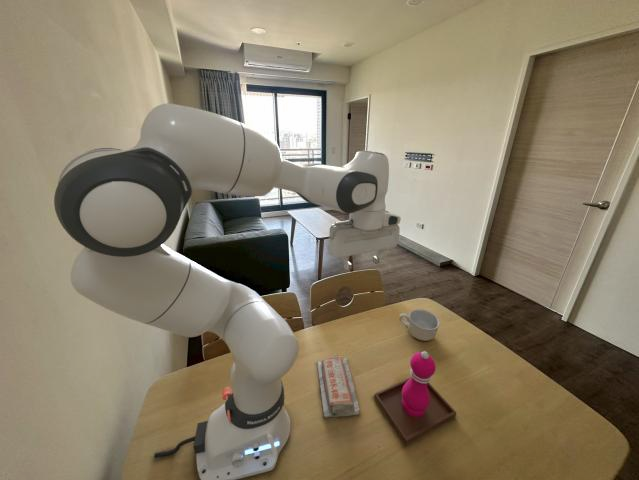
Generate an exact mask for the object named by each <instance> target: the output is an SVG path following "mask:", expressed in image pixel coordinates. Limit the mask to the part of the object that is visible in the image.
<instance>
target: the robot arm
mask: <svg viewBox="0 0 639 480" xmlns="http://www.w3.org/2000/svg"><path fill="white" fill-rule="evenodd" d="M389 163H390V162H389V158H388V156H387V155H386V154H384V153H382V152H378V151H372V150H358V151H357V152H356V153H355V156H354V157H353V159H351V160H350V161H349V162H348V163H346V164H344V165H342V166H334V165H327V164H324V163H319V162H313V163H309V164H303V165H302V164H298V163H295V162H293V161H290V160H287V159H284V158H282V152H281V150H280V147H279V145H278V143H277V142H276V140H275V139H274V138H272V137H270V136H269V135H267V134H266V133H264V132H262V131H260V130H259V129H257V128H255V127H253V126H251V125H248V124H246V123H243V122H241V121H238V120H236V119H233V118H230V117H228V116H226V115H222V114H218V113H215V112H213V111H210V110H209V111H208V110H205V109H201V108H196V107H192V106H187V105H181V104H176V103H169V102H168V103H167V102H166V103H162V104H158V105H156V106H155V107H153V108H151V110H150V111H149V112H148V113H147V115H146V116H145V118H144V120H143V122H142V124H141V128H140V135H139V140H138V141H137V143H136V144H135V145H134V146H133V147H130V148H128V149H119V148H114V147H102V148H101V147H100V148H94V149H90V150H88V151H86V152H83V153H81V154H79V155H77V156H75V158H73V159H71V160H70V161H69V162H68V163H67V164H66V165H65V166H64V168H63V169H62V171H61V173H60V175H59V177H58V181H57V186H56V188H55V192H54V197H53V205H54V212H55V214H56V217H57V219H58V221H59V223H60V225H61V226H62V228H63V229H64V231H65V232H66V233H67V234H68V235H69V236H70V237H71V238H72V239H73V240H74V241H75V242H77V243H78V244H80V245H81V246H83V248H82V250H81V251H80V252H79V254H78V255H77V256H76V258H75V259H74V261H73V264H72V266H71V270H70V282H71V286H72V288H73V289H74V290H75V292H77V293H78V294H79V295H81V296H82V297H84V298H85V299H88V300H89V301H91V302H93V303H95V304H96V305H98V306H100V307H102V308H104V309H106V310H108V311H110V312H113V313H115V314H117V315H120V316H122V317H124V318H127V319H130V320H132V321H135V322H138V323H141V324H144V325H147V326H150V327H154V328H156V329H160V330H163V331H166V332H169V333H172V334H175V335H178V336H182V337H185V338H195V337H199V336H202V335H203V334H204V333H206V332H207V333H212V334H214V335H216V336H217V337H218V338H220V339H221V340H222V341H223V342H224V343H225V344H226V345H227V348H228V349H229V351H230V353H231V356H232V357H233V361H234V362H233V364H232V365H231V368H230V370H229V379H230V385H231V387H229V386H226V387H224V388H222V390H221V395H222V397H221V398H222V400H224V401H225V402H224V403H223V404H222V405H220V406H219V407H218V408H217V409H215V410H213V412H211V414H210V416H209V418H208V420H205V421H202V422H198V423H197V425H196V432H195V435H194V436H192V437H188V438H185V439H183V440H182V441H180V442H178V444H177V445H176V446H175V447H174V448H172V449H169V450H163V451H159V452H158V451H157V452H155V453H154V455H153V458H155V459H156V458H161V457H167V456H171V455H173V454H175V453H177V452H179V450H180V448H181V447H182V446H185V445H187V444H190V443H192V442H193V450H194V453H195V455H196V456H195V457H196V459H195V460H196V469H197V475H198V477H199V479H200V480H240V479H245V478H248V477H251V476H256V475H260V474H263V473H267V472H270V471H273V470H274V469H275V468H276V465H277V462H278V460H279V459H278V458H279V455H280V453H281V451H282V450H283V448H284V447H285V446H286V443H287V442H288V440H289V436H290V433H291V419H290V416H289V413H288V411H287V410H286V408H285V399H286V398H285V387H284V384H283V381H282V378H283V377H285V375H287V374H288V373H289V372H290V371H291V370H292V368H293V367H294V365H295V363H296V361H297V358H298V356H299V350H300V343H299V340H298V339H297V336H296V335H295V333H294V331H293V330H292V328H291V326H290V325H289V323H288V322H287V321H286V320H285V319H284V318H283V317H282V316H281V315H280V314H279V313H278V312H277V311H276V310H275V309H274V308H273V307H272V306H271V304H268V302H267V301H266V300H265V299H264V298H263V297H262V296H261V295H260V294H259V293H258V292H257V291H255V290H253V289H251V288H250V287H248V286H246V285H244V284H242V283H238V282H235V281H232V280H229V279H226V278H224V277H223V276H220V275H218V274H217V273H216V272H213V271H211V270H210V269H207V268H206V267H204V266H202V265H201V264H198V263H197V262H195V261H193V260H191V259H190V258H188V257H186V256H185V255H183V254H181V253H179V252H177V251H175V250H173V249H172V248H170V247H168V245H166V242H167V241H168V240H169V239H170V237H171V236H172V235H173V233H174V232H175V230H176V227H177V226H178V225H179V222H180V219H181V217H182V214H183V212H184V210H185V208H186V206H187V204H188V202H189V200H190V199H191V197H192V194H193V190H202V191H209V192H214V193H220V194H224V195H225V194H226V195H229V196H238V197H265V196H266V195H268V194H270V192H272V190H273V189H274V188H276V189H278V190H279V189H280V190H285V191H288V192H293V193H295V194H296V195H298V196H299V197H300V198H301V199H302V200H304V201H305V202H306V203H310V204H312V205H318V206H321V207H323V208H326V209H330V210H333V211H337V212H340V213H343V214H349V215H348V217H349V218H348V219H347V220H341V221H340V220H339V221H335V222H334V223H333V224H332V225H331V226H330V227H329V237H328V238H329V239H328V246H327V252H328V254H329V255H330V256H332V257H333V258H334V259H341V260H342V262H343V269H344V270H345V271H351V270H353V268H352V267H353V263H351V262H350V261H349V259H350V257H352V256H356V255H361V254H367V253H373V252H376V254H375V255H373V256H372V263H374V265H378V264H381V263H382V258H383V257H384V256H385V254H386V252H387V251H386V250H388V249H393V248H395V247H397V245H398V244H399V241H400V230H401V229H400V226H399V224H400V223H401V220H402V219H401V216H399V215H397V214H396V213H394V212H391V211H388V210H386V209H387V208H386V207H387V205H386V195H387V193H388V190H389V182H390V181H389V179H390V164H389ZM231 392H232V393H231ZM264 464H265V465H264Z"/></svg>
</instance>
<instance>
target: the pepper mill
mask: <svg viewBox="0 0 639 480" xmlns="http://www.w3.org/2000/svg"><path fill="white" fill-rule="evenodd" d="M409 365H410V371H409V373H410V377H409V378H410V379H409V378H408V379H409V380H408V381H407V382H406V383H405V385H404V386H403V389H402V397H403V398H402V407H403V409H404V410H405V412H406V413H407V414H409V415H410V416H412V417H422V416H423V415H424V413H425V410H426V408H427V407H428V406H429V403H430V394H429V391H428V388H427V383H428V382H429V383H430V382H431V379H432V376H433V375H434V374H435V373H436V368H437V367H436V363H435V360H434V359H433V358H432V356H430V354H429V353H428V352H427V351H422V352H421V351H419V352H416V353H414V354H413V355H412V356H411V358H410V361H409Z"/></svg>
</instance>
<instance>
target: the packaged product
mask: <svg viewBox="0 0 639 480" xmlns="http://www.w3.org/2000/svg"><path fill="white" fill-rule="evenodd" d="M317 373H318V379H319V385H320V396H321V403H322V404H321V405H322V410H323V418H324V419H328V418H329V419H330V418H339V417H348V416H358V415H360V410H361V408H360V406H359V402H358V401H359V400H358V398H357V393H356V389H355V386H354V381H353V378H352V374H351V371H350V366H349V363H348V358H346V357H344V358H343V356H342V355H333V356H330V357H325V358H324V359H322V360H320V361H319V360H318V361H317Z"/></svg>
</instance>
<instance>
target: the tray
mask: <svg viewBox="0 0 639 480" xmlns="http://www.w3.org/2000/svg"><path fill="white" fill-rule="evenodd" d="M410 378H411V377H409V378H406V379H405V380H402V381H400V382H398V383H396V384H394V385H391V386H389V387H387V388H384V389H382V390H380V391H377V392H375V393H374V396H373V398H374V400H375V402H376V403H377V405H378V407H379V408H380V409H381V411H382V413H383V414H384V415H385V417H386V418H387V420H388V421H389V423H390V425H391V426H392V427H393V429H394V430H395V432H396V434H397V435H398V437H399V438H400V439H401V441H402V443H403V445H404V446H408V445H409V444H412V443H413V442H414V441H416V440H419V439H420V438H422V437H424V436H425V435H427V434H428V433H430V432H433V431H434V430H435V429H437V428H439V427H440V426H443V425H445V424H446V423H448V422H449V421H451V420H453V419H455V418H456V416H457V411H456V410H455V409H454V408H453V407H452V405H450V404H449V402H447V400H446V399H445V398H444V397H443V395H441V394H440V393H439V391H437V389H435V387H433V385H432V384H431V383H430V381H429V382H428V383H427V388H428V391H429V394H430V403H429V406H428V407H427V408H426V410H425V413H424V415H423V416H422V417H412V416H410V415H409V414H407V413H406V412H405V410H404V409H403V407H402V398H403V397H402V389H403V386H404V385H405V383H406V382H407V381H408V380H409V379H410Z"/></svg>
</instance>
